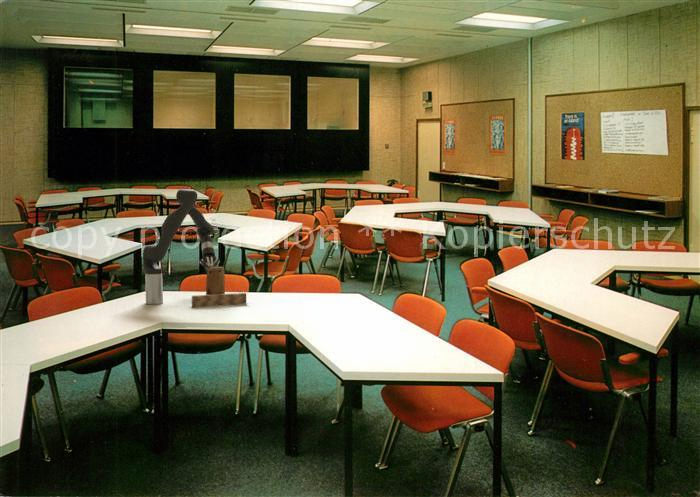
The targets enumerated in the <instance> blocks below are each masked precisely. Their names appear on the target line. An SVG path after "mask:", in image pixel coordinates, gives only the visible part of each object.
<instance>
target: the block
mask: <svg viewBox="0 0 700 497" xmlns="http://www.w3.org/2000/svg"><path fill="white" fill-rule="evenodd" d="M206 271H207V272H206V278H205V281H206V282H205V295H213V294H226V280H225V279H226V277H225V276H226V274H225V267H224V266H218V265H217V266H214V267H211V266H210V268H209V269H208V268H207V270H206Z"/></svg>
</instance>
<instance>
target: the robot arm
mask: <svg viewBox="0 0 700 497" xmlns="http://www.w3.org/2000/svg"><path fill="white" fill-rule="evenodd" d="M175 198H176V201H177V203H178V204H179V205H180V206H179V207H178V208H177V209H175V210H174V211H172V212H171V213H169V214H168V215H167V216H166V218H165V220H164V221H163V222H162V225H161V237H160V239H159V241H158V243H157V244H156V245H155V244H154V245H153V244H148V245H146V246H145V247H144V248H143V251H142V263H143V264H142V266H143V270H144V273H145V277H144V278H145V287H144V289H145V304H146V305H160V304H163V303H164V301H163V300H164V296H163V295H164V294H163V293H164V291H163V290H164V289H163V268H162V267H161V266H160V265H158V264H157V263H158V262H161V261H162V260H164V258H165V256H166V255H167V252H168V250H169V247H170V245H171V244H172V241H173V239H174V238H175V235H176V234H177V232H178V230H179V229H180V228H181V225H182V224H183V222H184V220H185V219H186V217H187V216H188V215H189V217H190V218H191V220H192V222H193V223H194V225H195V227H197V228H196V234H197V236H198V237H199V240H200V245H201V253H202V258H201V259H199V261H198V262H199V264H200V265H201V266H202V267H203V268H205V269H207V270H208V269H209V268H210V267H214V266H217V267H218V265H219V263H220V261H221V259H220V258H217V257H216V253H215V252H216V251H215V246H214V242H213V238H212V236H211V235H213V234H214V232H215V229H214V227H213V225H212V224H211V223H210V222H209V221H207V219H206V218H205V216H204V215H203V213H202V211H200V210H199V209H198V208H196V206H195V204H196V202H197V200H198V193H197V191H196V190H193V189H186V188H181V189H178V190H177V192H176V197H175Z"/></svg>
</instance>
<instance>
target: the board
mask: <svg viewBox="0 0 700 497" xmlns="http://www.w3.org/2000/svg"><path fill="white" fill-rule="evenodd" d="M234 305H247V293H246V292H236V293H234V292H233V293H232V292H231V293H225V294H213V295H206V294H198V295H195V294H194V295H191V307H192V308H201V307H202V308H203V307H217V306H218V307H219V306H234Z"/></svg>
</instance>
